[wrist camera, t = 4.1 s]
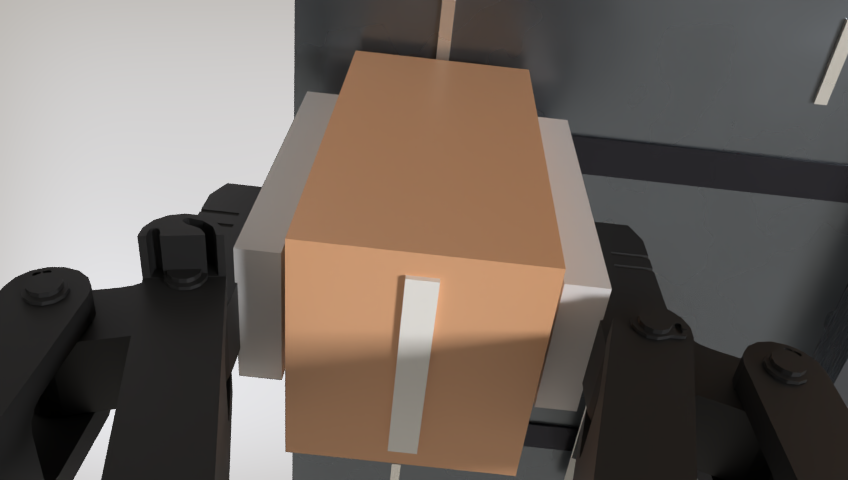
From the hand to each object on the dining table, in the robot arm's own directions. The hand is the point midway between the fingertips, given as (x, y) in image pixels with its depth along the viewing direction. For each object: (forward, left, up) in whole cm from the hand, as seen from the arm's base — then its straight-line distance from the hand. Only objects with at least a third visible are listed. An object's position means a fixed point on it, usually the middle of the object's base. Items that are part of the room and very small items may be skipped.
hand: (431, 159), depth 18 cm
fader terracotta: (0, 0, -1) cm, 1 cm away
